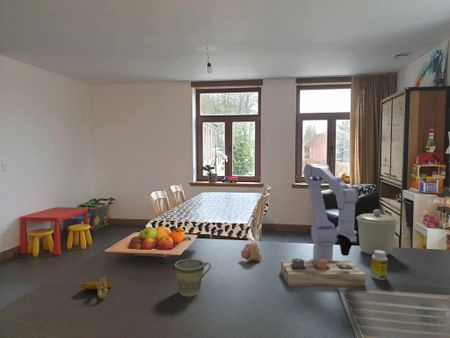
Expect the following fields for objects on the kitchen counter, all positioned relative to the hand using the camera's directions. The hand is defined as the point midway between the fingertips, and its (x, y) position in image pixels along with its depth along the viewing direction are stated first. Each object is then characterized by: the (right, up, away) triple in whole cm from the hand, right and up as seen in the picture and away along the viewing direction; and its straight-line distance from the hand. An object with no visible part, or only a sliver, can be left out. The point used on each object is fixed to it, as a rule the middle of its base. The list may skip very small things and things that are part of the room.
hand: (344, 255), depth 125 cm
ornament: (-89, -10, -14) cm, 91 cm away
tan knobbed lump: (-35, -8, +18) cm, 40 cm away
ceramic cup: (-57, -10, -12) cm, 59 cm away
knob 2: (0, -8, +1) cm, 8 cm away
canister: (+26, -8, +31) cm, 41 cm away
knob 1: (-18, -5, 0) cm, 19 cm away
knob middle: (-9, -6, 0) cm, 11 cm away
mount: (-9, -9, 0) cm, 13 cm away
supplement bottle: (+14, -9, +2) cm, 17 cm away
